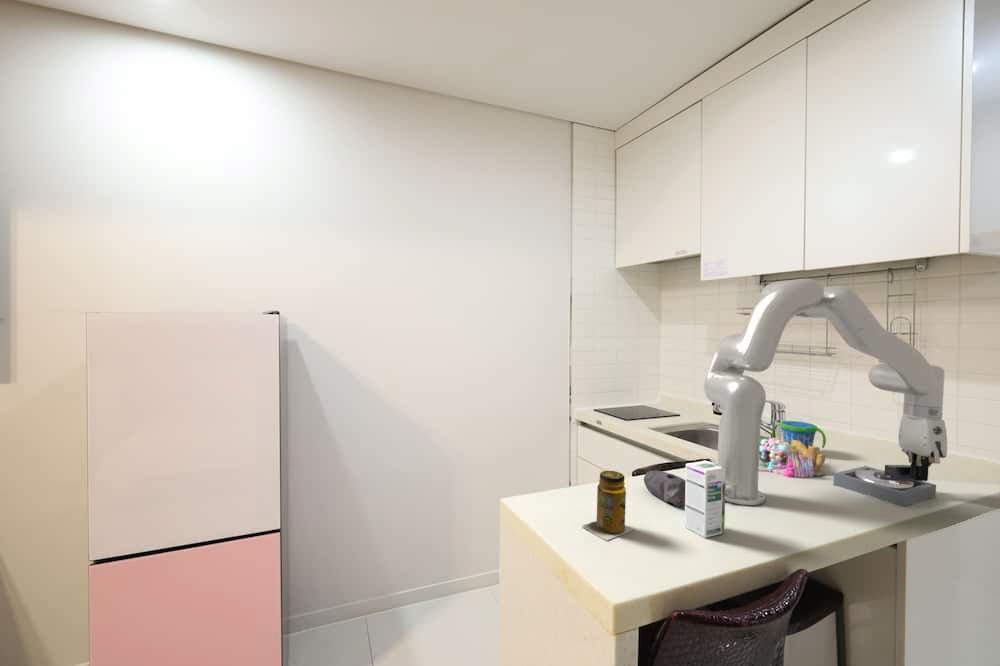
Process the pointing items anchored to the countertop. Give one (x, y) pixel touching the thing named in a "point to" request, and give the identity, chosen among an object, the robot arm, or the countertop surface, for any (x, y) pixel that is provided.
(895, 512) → the countertop surface
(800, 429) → the snack cup
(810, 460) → the pastel sphere sculpture
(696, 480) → the syrup box
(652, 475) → the perforated stone tool
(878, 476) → the dial
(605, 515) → the condiment
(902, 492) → the housing
